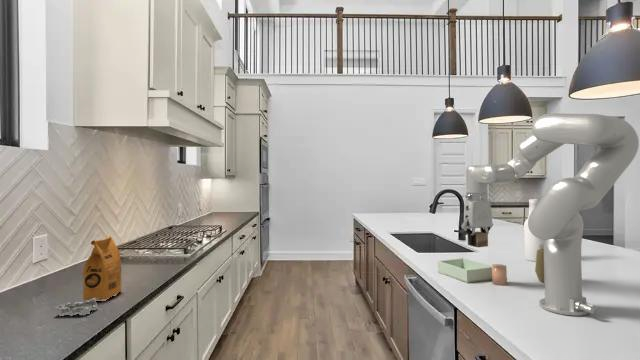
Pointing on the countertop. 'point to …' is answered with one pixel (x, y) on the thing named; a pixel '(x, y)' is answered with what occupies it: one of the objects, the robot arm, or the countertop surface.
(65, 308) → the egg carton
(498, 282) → the terracotta cylinder
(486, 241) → the walnut cube
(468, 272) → the tote
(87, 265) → the coffee package
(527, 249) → the alcohol
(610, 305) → the countertop surface
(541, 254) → the squeeze bottle
